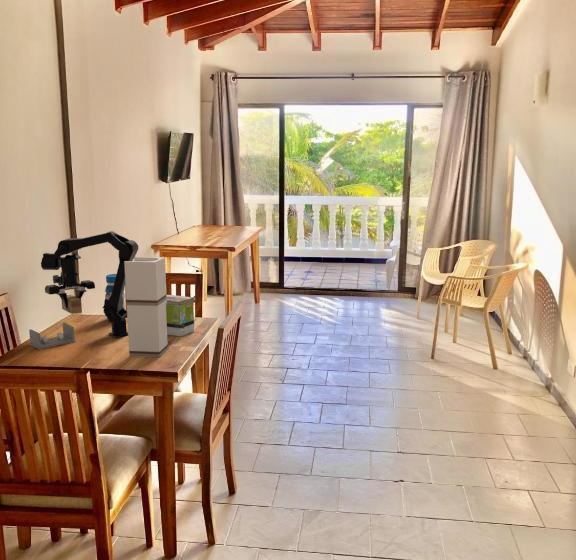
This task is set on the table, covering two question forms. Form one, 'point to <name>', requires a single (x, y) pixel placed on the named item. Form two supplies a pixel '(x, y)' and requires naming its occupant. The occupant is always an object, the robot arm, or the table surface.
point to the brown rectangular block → (73, 305)
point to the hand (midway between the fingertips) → (71, 307)
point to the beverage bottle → (111, 286)
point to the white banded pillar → (146, 306)
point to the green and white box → (179, 315)
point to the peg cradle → (59, 340)
